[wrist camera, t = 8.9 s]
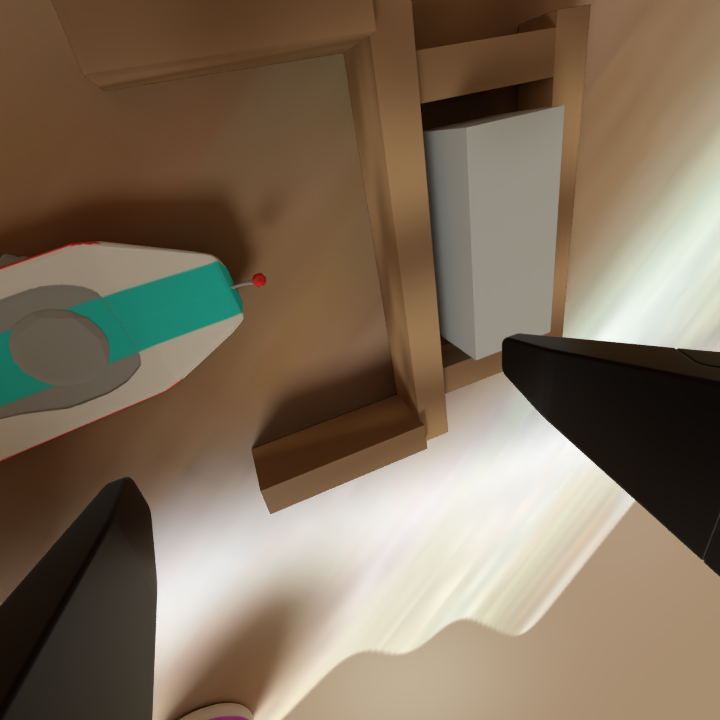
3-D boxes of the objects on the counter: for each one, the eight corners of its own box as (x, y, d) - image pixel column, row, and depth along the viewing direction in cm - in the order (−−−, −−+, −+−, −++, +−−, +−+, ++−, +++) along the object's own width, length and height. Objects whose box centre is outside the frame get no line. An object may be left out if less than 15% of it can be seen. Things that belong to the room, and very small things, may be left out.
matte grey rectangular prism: (493, 114, 18) (564, 104, 14) (495, 305, 22) (550, 332, 19) (410, 133, 17) (466, 127, 13) (430, 328, 21) (475, 360, 18)
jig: (533, 363, 25) (572, 387, 22) (260, 471, 21) (270, 514, 18) (551, -30, 16) (620, -65, 13) (78, 30, 12) (49, -4, 9)
